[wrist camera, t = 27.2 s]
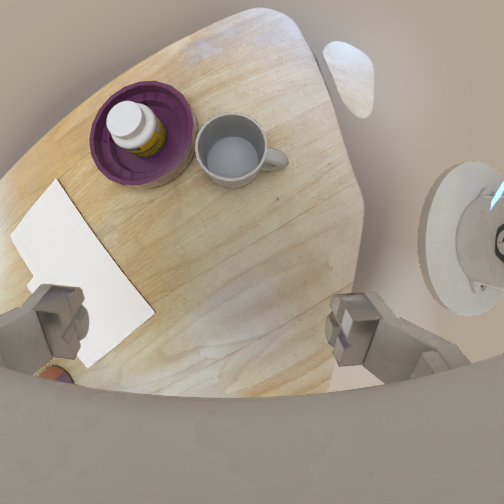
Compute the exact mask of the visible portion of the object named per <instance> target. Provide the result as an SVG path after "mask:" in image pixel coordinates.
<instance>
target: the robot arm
mask: <svg viewBox="0 0 504 504" xmlns="http://www.w3.org/2000/svg"><path fill="white" fill-rule="evenodd" d="M503 190H504V182H503V183H502V185H501V186H500V188H499V190H498V191H497V192H495V191H494V190H492V189H491V188H489V187H483V188H482V190H481V192H480V194H479V196H478V197H477V199H475V200H474V201H473V202H471V203H470V204H469V205H468V206H467V207H466V209H465V210H464V212H463V214H462V216H461V218H460V221H459V224H458V228H457V235H456V251H457V257H458V261H459V264H460V266H461V268H462V270H463V272H464V273H465V274H466V276H467V277H468V279H469V282H470V287H471V290H472V292H473V293H482V292H486V291H489V290H493V289H499V290H503V291H504V196H501V194H502V192H503ZM84 299H85V298H84V294H83V290H82V289H81V288H80V287H75V286H65V285H54V284H41V285H40V286H39V287H38V288H37V289H36V290H35V291H34V293H33V294H32V295H31V296H30V297H29V298H28V299H27V301H26V302H25V303H24V304H23V305H22V306H21V308H18V307H17V308H15V309H13V310H10V311H8V312H6V313H4V314H2V315H0V504H504V353H503V354H501V355H498V356H495V357H492V358H489V359H486V360H483V361H479V362H476V363H473V364H471V363H470V361H469V360H468V359H467V358H466V356H465V355H464V354H463V353H462V352H461V350H460V349H459V348H458V347H457V346H456V345H455V344H453V343H451V342H449V341H447V340H445V339H443V338H441V337H439V336H437V335H435V334H433V333H431V332H429V331H427V330H425V329H423V328H421V327H419V326H417V325H415V324H413V323H411V322H409V321H407V320H405V319H403V318H397V317H396V316H395V315H394V313H393V312H392V311H391V310H390V308H389V307H388V306H387V304H386V303H385V302H384V301H383V299H382V298H381V297H380V296H379V295H378V293H376V292H366V293H348V294H334V295H333V297H332V299H331V303H330V306H331V308H332V310H333V311H332V312H331V313H330V314H329V315H328V316H327V320H326V325H325V333H326V338H327V341H328V343H329V344H330V345H331V346H333V347H334V350H333V355H334V357H335V359H336V361H337V364H338V366H339V367H340V366H353V365H363V367H365V368H366V369H367V370H368V371H370V372H371V373H372V374H373V375H375V376H376V377H377V378H378V379H380V380H381V381H382V382H384V383H385V384H384V385H378V386H372V387H366V388H359V389H352V390H345V391H337V392H328V393H318V394H307V395H294V396H278V397H253V398H202V397H178V396H162V395H150V394H140V393H130V392H122V391H114V390H107V389H100V388H93V387H87V386H81V385H76V384H70V383H65V382H60V381H55V380H50V379H46V378H42V377H37V376H33V375H32V374H34V373H35V372H36V371H37V370H38V369H40V368H41V367H42V366H43V365H45V364H46V363H47V362H48V361H50V360H51V359H52V358H53V357H58V358H66V359H73V360H75V357H76V355H77V353H78V351H79V349H80V347H81V345H80V341H81V340H82V339H84V338H85V337H86V335H87V333H88V329H89V315H88V310H87V309H86V308H85V307H84V306H83V305H82V303H83V301H84Z"/></svg>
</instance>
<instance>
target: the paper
mask: <svg viewBox="0 0 504 504" xmlns="http://www.w3.org/2000/svg"><path fill="white" fill-rule="evenodd" d="M10 238H11V240H12V242H13V243H14V245H15V247H16V249H17V250H18V252H19V254H20V255H21V257H22V259H23V260H24V262H25V264H26V265H27V267H28V268H29V270H30V271H31V273H32V274H33V276H34V277H33V278H32V279H31V281H30V282H29V283H28V284H27V287H28V289H29V291H30V292H31V294H33V293H34V291H35V290H36V289H37V288H38V287H39V286H40V285H41V284H54V285H65V286H75V287H80V288H81V289H82V290H83V294H84V298H85V299H84V301H83V303H82V305H83V306H84V307H85V308H86V309H87V310H88V315H89V329H88V333H87V335H86V337H85V338H84V339H82V340H81V341H80V345H81V347H80V349H79V351H78V353H77V357H78V358H79V359H80V360H81V361H82V363H83V364H84V365H85V366H86V367H87V368H89V367H90V366H92V365H93V364H94V363H95V362H97V361H98V360H99V359H100V358H102V357H103V356H104V355H105V354H107V353H108V352H109V351H110V350H112V349H113V348H114V347H115V346H117V345H118V344H119V343H120V342H122V341H123V339H125V338H126V337H127V336H128V335H129V334H131V333H132V332H133V331H134V330H135V329H137V328H138V327H139V326H140V325H141V324H143V323H144V322H145V321H146V320H147V319H149V318H150V317H151V316H152V315H154V314H155V312H154V311H153V309H152V308H151V307H150V306H149V305H148V303H147V302H146V301H145V300H144V298H143V297H142V296H141V295H140V294H139V292H138V291H137V290H136V289H135V287H134V286H133V285H132V284H131V282H130V281H129V280H128V279H127V277H126V276H125V275H124V274H123V272H122V271H121V270H120V268H119V267H118V266H117V264H116V263H115V262H114V260H113V259H112V258H111V256H110V255H109V254H108V252H107V251H106V250H105V248H104V247H103V246H102V244H101V243H100V242H99V240H98V239H97V237H96V236H95V235H94V233H93V232H92V231H91V229H90V228H89V226H88V225H87V223H86V222H85V220H84V219H83V217H82V216H81V215H80V213H79V212H78V210H77V209H76V207H75V206H74V204H73V203H72V201H71V200H70V198H69V197H68V195H67V194H66V192H65V191H64V189H63V188H62V186H61V185H60V183H59V182H58V180H57V179H55V180H54V181H53V183H52V184H51V185H50V186H49V187H48V188H47V189H46V191H45V192H44V193H43V194H42V195H41V197H40V198H39V199H38V200H37V201H36V203H35V204H34V205H33V206H32V208H31V209H30V210H29V211H28V213H27V214H26V215H25V217H24V218H23V219H22V220H21V222H20V223H19V224H18V226H17V227H16V229H15V230H14V231H13V233H12V234H11V235H10Z"/></svg>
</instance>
